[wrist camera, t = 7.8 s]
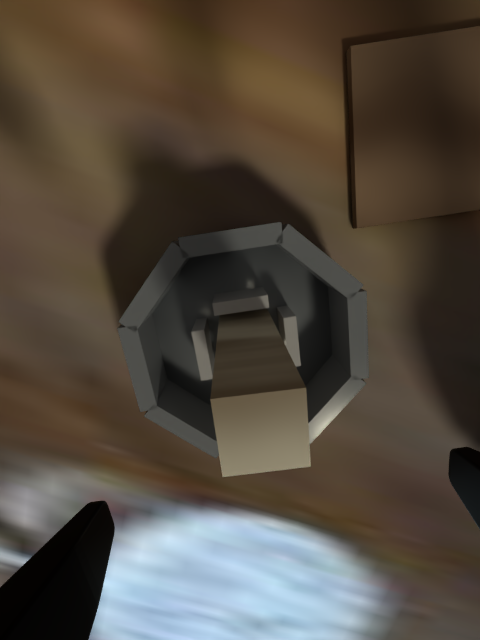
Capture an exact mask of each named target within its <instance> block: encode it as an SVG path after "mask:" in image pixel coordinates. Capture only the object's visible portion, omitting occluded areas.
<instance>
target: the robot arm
mask: <svg viewBox="0 0 480 640" xmlns="http://www.w3.org/2000/svg"><path fill="white" fill-rule="evenodd" d="M449 479H450V482H451V484H452V486H453V487H454V489H455V491H456V492H457V494H458V495H459V497H460V499H461V500H462V502H463V503H464V505H465V507H466V508H467V510H468V511H469V513H470V514H471V516H472V518H473V519H474V521H475V522H476V524H477V526H478V527H479V529H480V452H479V451H476V450H474V449H472V448H469V447H462V448H455V449H452V450H451V451H450V457H449ZM114 530H115V527H114V522H113V519H112V516H111V513H110V510H109V507H108V505H107V503H106V502H105V501H96V502H90V503H88V504H87V505H86V506H84V507H83V508H82V509H81V510H80V511H79V512H78V513H77V514H76V515H75V516H74V517H73V518H72V519H71V520H70V521H69V522H68V523H67V524H66V525H65V526H64V527H63V528H62V529H60V530H59V531H58V532H57V533H56V534H55V535H54V536H53V537H52V538H51V539H50V540H49V541H48V542H47V543H46V544H45V545H44V546H43V547H42V548H41V549H40V550H39V551H38V552H37V553H36V554H34V555H33V556H32V557H31V558H30V559H29V560H28V561H27V562H26V563H25V564H24V565H23V566H22V567H21V568H20V569H19V570H18V571H17V572H16V573H15V574H14V575H13V576H12V577H11V578H10V579H8V580H7V581H6V582H5V583H4V584H3V585H2V586H1V587H0V640H88V639H89V636H90V632H91V629H92V626H93V623H94V619H95V616H96V612H97V609H98V605H99V601H100V597H101V593H102V588H103V583H104V579H105V574H106V569H107V565H108V560H109V556H110V551H111V546H112V542H113V537H114Z"/></svg>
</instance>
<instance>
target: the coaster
mask: <svg viewBox="0 0 480 640" xmlns="http://www.w3.org/2000/svg"><path fill="white" fill-rule="evenodd" d="M346 56H347V83H348V109H349V136H350V163H351V189H352V216H353V228H362V227H369V226H376V225H382V224H389V223H395V222H402V221H409V220H415V219H422V218H428V217H435V216H442V215H448V214H455V213H461V212H468V211H475V210H480V26H475V27H469V28H462V29H456V30H449V31H443V32H437V33H430V34H424V35H417V36H411V37H405V38H398V39H392V40H385V41H379V42H372V43H366V44H360V45H353V46H350V48H349V49H348V51H347V52H346Z"/></svg>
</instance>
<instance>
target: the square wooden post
mask: <svg viewBox="0 0 480 640" xmlns="http://www.w3.org/2000/svg"><path fill="white" fill-rule="evenodd" d="M210 401H211V407H212V413H213V419H214V426H215V432H216V438H217V444H218V451H219V457H220V463H221V469H222V476H223V477H227V476H236V475H244V474H252V473H261V472H269V471H277V470H286V469H294V468H303V467H311V463H310V445H309V428H308V411H307V393H306V386H305V384H304V382H303V380H302V378H301V376H300V374H299V372H298V370H297V368H296V366H295V364H294V362H293V360H292V358H291V356H290V354H289V352H288V350H287V348H286V346H285V344H284V342H283V340H282V338H281V336H280V334H279V332H278V330H277V328H276V326H275V323H274V321H273V319H272V317H271V315H270V313H269V311H268V309H261V310H252V311H244V312H237V313H231V314H224V315H220V316H219V325H218V334H217V343H216V352H215V361H214V370H213V379H212V388H211V397H210Z"/></svg>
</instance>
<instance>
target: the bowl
mask: <svg viewBox="0 0 480 640" xmlns="http://www.w3.org/2000/svg"><path fill="white" fill-rule="evenodd" d="M362 286H363V284H362V283H360V282H359V281H358V280H357V279H356V278H354V277H353V276H352V275H351V274H349V273H348V272H347V271H346V270H345V269H343V268H342V267H341V266H340V265H338V264H337V263H336V262H335V261H333V260H332V259H331V258H330V257H329V256H327V255H326V254H325V253H324V252H322V251H321V250H320V249H319V248H318V247H316V246H315V245H314V244H313V243H311V242H310V241H309V240H308V239H306V238H305V237H304V236H303V235H302V234H300V233H299V232H298V231H297V230H295V229H294V228H293V227H292V226H291V225H289V224H281V222H277V223H270V224H264V225H257V226H251V227H244V228H238V229H231V230H224V231H218V232H211V233H205V234H198V235H192V236H185V237H178V240H177V241H172V242H171V244H170V245H169V247H168V248H167V250H166V251H165V253H164V254H163V256H162V257H161V259H160V260H159V262H158V263H157V265H156V266H155V268H154V269H153V271H152V272H151V274H150V275H149V277H148V278H147V280H146V281H145V283H144V284H143V286H142V287H141V289H140V290H139V292H138V293H137V295H136V296H135V298H134V299H133V301H132V302H131V304H130V305H129V307H128V308H127V310H126V311H125V313H124V314H123V316H122V317H121V319H120V320H119V323H121V324H122V325H121V326H119V327H118V328H117V329H118V333H119V336H120V340H121V344H122V347H123V351H124V354H125V358H126V362H127V365H128V369H129V373H130V376H131V380H132V384H133V387H134V391H135V394H136V398H137V402H138V405H139V409H140V412H142V411H146V413H145V415H144V417H146V418H148V419H149V420H151V421H153V422H154V423H156V424H158V425H160V426H161V427H163V428H165V429H166V430H168V431H170V432H172V433H173V434H175V435H177V436H178V437H180V438H182V439H184V440H185V441H187V442H189V443H190V444H192V445H194V446H196V447H197V448H199V449H201V450H202V451H204V452H206V453H208V454H209V455H211V456H213V457H214V458H217V457H218V455H219V451H218V444H217V438H216V432H215V426H214V419H213V413H212V407H211V401H210V397H211V388H212V379H213V370H214V361H215V352H216V343H217V334H218V325H219V316H220V315H224V314H231V313H237V312H244V311H252V310H261V309H268V311H269V313H270V315H271V317H272V319H273V321H274V323H275V326H276V328H277V330H278V332H279V334H280V336H281V338H282V340H283V342H284V344H285V346H286V348H287V350H288V352H289V354H290V356H291V358H292V360H293V362H294V364H295V366H296V368H297V370H298V372H299V374H300V376H301V378H302V380H303V382H304V384H305V386H306V393H307V411H308V428H309V445H310V444H311V442H312V441H313V440H314V439H315V438H316V437H317V436H318V435H319V434H320V433H321V432H322V431H323V430H324V429H325V427H326V426H327V425H328V424H329V423H330V422H331V421H332V420H333V419H334V418H335V417H336V416H337V415H338V414H339V412H340V411H341V410H342V409H343V408H344V407H345V406H346V405H347V404H348V403H349V402H350V401H351V400H352V398H353V397H354V396H355V395H356V394H357V393H358V392H359V391H360V390H361V389H362V388H363V387H364V386H365V385H366V382H365V381H364V380H363V379H364V378H369V367H368V330H367V293H366V291H365V290H363V289H361V288H362Z"/></svg>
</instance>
